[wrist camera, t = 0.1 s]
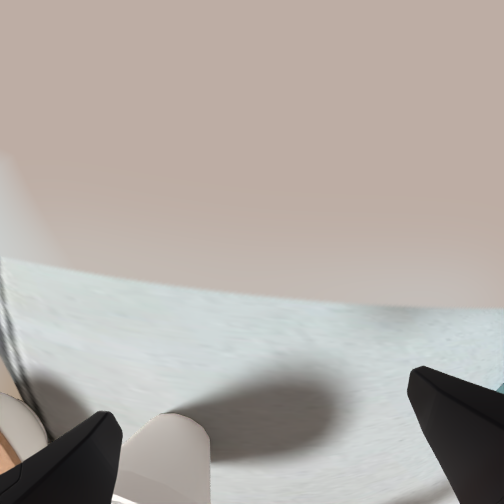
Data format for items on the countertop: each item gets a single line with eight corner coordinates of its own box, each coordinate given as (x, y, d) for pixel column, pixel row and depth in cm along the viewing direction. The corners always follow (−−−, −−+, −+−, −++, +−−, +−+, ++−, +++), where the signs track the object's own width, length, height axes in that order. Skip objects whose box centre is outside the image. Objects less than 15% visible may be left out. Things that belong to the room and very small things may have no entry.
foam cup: (114, 409, 22) (41, 484, 9) (197, 386, 22) (150, 487, 9) (162, 479, 22) (125, 565, 9) (243, 463, 22) (237, 568, 9)
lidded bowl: (63, 478, 22) (23, 521, 11) (-3, 423, 22) (-48, 451, 11) (69, 421, 22) (12, 469, 11) (-4, 358, 23) (-65, 380, 11)
